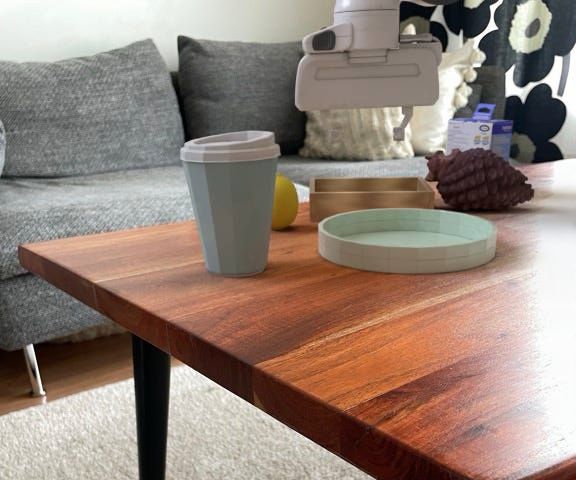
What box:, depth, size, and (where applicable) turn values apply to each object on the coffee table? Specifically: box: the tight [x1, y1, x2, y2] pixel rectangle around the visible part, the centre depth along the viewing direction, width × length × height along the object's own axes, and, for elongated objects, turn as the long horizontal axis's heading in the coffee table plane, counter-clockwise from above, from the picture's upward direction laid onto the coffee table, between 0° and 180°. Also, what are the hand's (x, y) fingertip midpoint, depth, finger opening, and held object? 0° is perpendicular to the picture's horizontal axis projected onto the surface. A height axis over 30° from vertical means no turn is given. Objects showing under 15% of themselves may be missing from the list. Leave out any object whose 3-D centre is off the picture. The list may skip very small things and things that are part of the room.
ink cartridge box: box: [444, 102, 514, 163], centre depth 120 cm, size 10×6×14 cm, turn 36°
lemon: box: [271, 172, 299, 231], centre depth 98 cm, size 6×6×8 cm
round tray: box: [317, 208, 499, 275], centre depth 87 cm, size 21×21×4 cm
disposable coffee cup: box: [179, 130, 282, 278], centre depth 78 cm, size 11×11×15 cm
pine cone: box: [424, 147, 535, 212], centre depth 110 cm, size 18×10×10 cm
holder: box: [308, 176, 436, 223], centre depth 108 cm, size 18×14×5 cm
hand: (366, 142), depth 104 cm, fingers open, 8 cm apart
